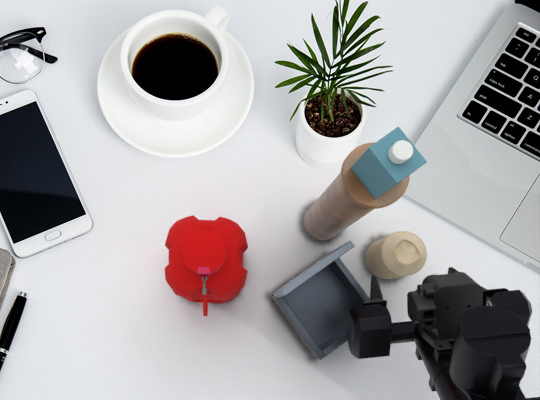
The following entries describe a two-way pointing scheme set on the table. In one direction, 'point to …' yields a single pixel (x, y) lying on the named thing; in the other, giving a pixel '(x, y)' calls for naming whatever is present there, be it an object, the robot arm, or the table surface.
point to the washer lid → (313, 269)
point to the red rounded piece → (206, 260)
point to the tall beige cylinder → (347, 200)
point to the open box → (323, 308)
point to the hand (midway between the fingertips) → (410, 273)
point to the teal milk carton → (387, 162)
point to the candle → (396, 255)
